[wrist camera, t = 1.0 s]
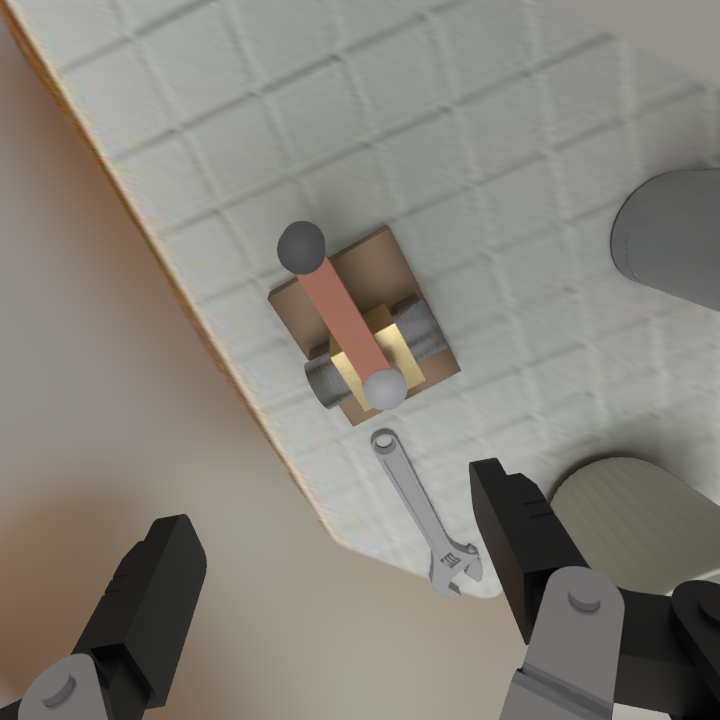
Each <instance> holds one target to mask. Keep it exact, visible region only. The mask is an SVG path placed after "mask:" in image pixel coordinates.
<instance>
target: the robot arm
mask: <svg viewBox="0 0 720 720" xmlns="http://www.w3.org/2000/svg"><path fill="white" fill-rule="evenodd" d="M611 249H612V255H613V259H614V261H615V264H616V266H617V267H618V269H619V270H620V271H621V273H622V274H623V275H625V276H626V277H627V278H629V279H630V280H633V281H636V282H638V283H641V284H644V285H647V286H649V287H652V288H655V289H658V290H660V291H663V292H666V293H668V294H671V295H674V296H677V297H679V298H682V299H685V300H688V301H691V302H694V303H696V304H699V305H702V306H705V307H708V308H711V309H713V310H716V311H719V312H720V168H708V169H706V170H704V171H675V172H669V173H666V174H662V175H659V176H657V177H655V178H654V179H652V180H650V181H648V182H647V183H645V184H644V185H643V186H641V187H640V188H639V189H638V190H637V191H636V192H635V193H634V194H633V195H632V196H631V197H630V198H629V199H628V200H627V202H626V203H625V205H624V206H623V208H622V209H621V211H620V213H619V215H618V217H617V220H616V222H615V225H614V229H613V233H612V242H611ZM469 474H470V485H471V495H472V505H473V511H474V515H475V519H476V522H477V525H478V528H479V531H480V533H481V536H482V538H483V541H484V543H485V546H486V548H487V550H488V553H489V555H490V558H491V560H492V563H493V565H494V568H495V570H496V573H497V575H498V578H499V580H500V583H501V585H502V588H503V590H504V592H505V595H506V597H507V600H508V602H509V605H510V607H511V610H512V612H513V615H514V617H515V619H516V622H517V625H518V627H519V630H520V632H521V635H522V637H523V639H524V642H525V644H526V645H529V646H528V650H527V653H526V656H525V660H524V663H523V665H522V667H521V669H519V668H518V669H517V670H516V671H515V673H514V675H513V678H512V680H511V683H510V686H509V690H508V693H507V697H506V699H505V703H504V706H503V709H502V713H501V716H500V719H499V720H612V713H613V706H614V703H618V704H623V705H629V706H633V707H638V708H643V709H648V710H653V711H658V712H663V713H668V714H669V716H670V718H671V720H720V584H718V583H714V582H710V581H705V580H690V581H685V582H683V583H680V584H679V585H678V586H676V588H675V589H674V590H673V593H672V596H665V595H657V594H649V593H641V592H635V591H629V590H626V589H622V588H620V587H617V586H615V585H614V584H613V583H612V582H611V581H610V580H609V579H608V578H606V577H605V576H603V575H602V574H600V573H598V572H596V571H594V570H592V569H591V568H590V566H589V565H588V564H587V562H586V561H585V559H584V557H583V556H582V554H581V553H580V551H579V550H578V548H577V547H576V545H575V543H574V542H573V540H572V539H571V537H570V536H569V534H568V533H567V531H566V529H565V528H564V526H563V525H562V523H561V522H560V520H559V519H558V517H557V516H556V515H555V514H554V511H553V509H552V508H551V506H550V505H549V503H547V501H546V498H545V497H544V495H543V494H542V492H541V491H540V489H539V488H538V486H537V484H535V483H534V482H532V481H531V480H530V479H528V478H527V477H526V476H524V475H523V474H521V473H517V474H511V475H507V474H506V473H505V471H504V469H503V467H502V465H501V464H500V462H499V460H498V459H497V458H490V459H485V460H479V461H474V462H470V463H469ZM206 568H207V564H206V555H205V552H204V549H203V547H202V545H201V543H200V541H199V539H198V536H197V534H196V532H195V530H194V528H193V526H192V524H191V521H190V519H189V517H188V516H187V515H185V514H181V515H175V516H170V517H165V518H159V519H156V520H155V521H154V522H153V524H152V526H151V528H150V530H149V532H148V534H147V536H146V538H145V540H144V541H139V542H138V543H137V544H136V545H135V546H134V547H133V548H132V549H131V550H130V551H129V552H128V553H127V555H126V556H125V557H124V558H123V559H122V561H121V562H120V564H119V566H118V568H117V570H116V572H115V573H114V575H113V580H111V581H110V583H109V585H108V587H107V588H106V590H105V595H104V596H102V598H101V600H100V601H99V603H98V605H97V607H96V609H95V611H94V613H93V614H92V616H91V618H90V620H89V622H88V624H87V625H86V627H85V629H84V631H83V633H82V635H81V637H80V638H79V640H78V642H77V644H76V646H75V648H74V650H73V651H72V653H71V655H70V656H67V657H65V658H63V659H61V660H59V661H58V662H56V663H54V664H53V665H52V666H50V667H49V668H48V669H46V670H45V671H44V672H43V673H42V674H41V675H40V676H39V677H38V678H37V679H36V680H35V681H34V683H33V684H32V685H31V686H30V688H29V689H28V690H27V692H26V694H25V695H24V697H23V698H22V699H20V700H18V701H16V702H14V703H12V704H10V705H8V706H6V707H3V708H1V709H0V720H142V717H143V714H144V711H145V709H150V708H156V707H163V706H165V703H166V700H167V697H168V694H169V690H170V687H171V684H172V681H173V677H174V674H175V671H176V668H177V665H178V661H179V658H180V655H181V652H182V649H183V646H184V642H185V639H186V636H187V633H188V630H189V626H190V623H191V620H192V617H193V614H194V610H195V607H196V604H197V601H198V597H199V594H200V591H201V588H202V585H203V582H204V579H205V575H206Z"/></svg>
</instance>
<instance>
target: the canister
mask: <svg viewBox="0 0 720 720" xmlns="http://www.w3.org/2000/svg"><path fill="white" fill-rule="evenodd" d="M550 506H551V508H552V509H553V511H554V514H555V515H556V516H557V517H558V519H559V520H560V522H561V523H562V525H563V526H564V528H565V529H566V531H567V533H568V534H569V536H570V537H571V539H572V540H573V542H574V543H575V545H576V547H577V548H578V550H579V551H580V553H581V554H582V556H583V557H584V559H585V561H586V562H587V564H588V565H589V566H590V568H591V569H592V570H594V571H596V572H598V573H600V574H602V575H603V576H605V577H606V578H608V579H609V580H610V581H611V582H612V583H613V584H614V585H615V586H617V587H620V588H622V589H626V590H629V591H635V592H641V593H649V594H657V595H665V596H672V593H673V590H674V589H675V588H676V586H678V585H679V584H680V583H683V582H685V581H690V580H705V581H710V582H714V583H718V584H720V506H718V505H717V504H715V503H714V502H712V501H711V500H709V499H708V498H706V497H705V496H703V495H702V494H700V493H699V492H698V491H696V490H694V489H693V488H691V487H690V486H688V485H687V484H685V483H684V482H682V481H681V480H679V479H678V478H676V477H675V476H673V475H672V474H670V473H668V472H667V471H665V470H664V469H662V468H660V467H658V466H656V465H653V464H651V463H649V462H647V461H644V460H639V459H636V458H631V457H628V458H626V457H617V458H616V457H610V458H608V459H601V460H599V461H596V462H592V463H591V464H589V465H585V466H584V467H583V468H581V469H579V470H577V471H576V472H575V473H574V474H572V475H570V476H569V477H568V479H566V480H565V481H563V484H562V485H561V486H560V487H558V490H557V492H556V493H555V494H554V496H553V500H552V501H551V503H550ZM667 714H668V713H667Z"/></svg>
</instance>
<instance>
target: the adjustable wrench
mask: <svg viewBox="0 0 720 720" xmlns="http://www.w3.org/2000/svg"><path fill="white" fill-rule="evenodd" d="M383 436H389V437H391V438H392V444H391V445H390V446H388V447H385V448H381V447H378V446H377V444H376V440H377V439H378V438H380V437H383ZM371 445H372V449H373V452H374V453H375V455H376V457H377V458H378V460H379V462H380V463H381V465H382V467H383V468H384V470H385V472H386V473H387V475H388V477H389V479H390V480H391V482H392V484H393V485H394V487H395V489H396V490H397V492H398V494H399V495H400V497H401V499H402V500H403V502H404V504H405V505H406V507H407V509H408V511H409V512H410V514H411V516H412V517H413V519H414V521H415V522H416V524H417V526H418V527H419V529H420V531H421V532H422V534H423V536H424V537H425V539H426V541H427V543H428V544H429V546H430V548H431V567H430V573H429V574H430V579H431V583H432V586H433V589H434V590H435V591H436V592H437V593H438V594H440V595H442V596H445V597H449V598H450V597H451V598H452V597H453V598H455V597H459V596H461V594H460V591H459V588H458V586H456V585H455V584H453V583H452V582H450V581H451V578H452V577H454V576H455V575H456V574H458V573H459V572H460V571H461V570H463V569H464V571H465V574H467V575H468V576H470V577H471V578H473V579H474V580H476V581H477V582H479V581H480V580H481V579H482V575H483V569H482V566H481V563H480V561H479V558H478V557H479V556H480V555H479V553H478V550H477V548H476V547H474V546H472V545H469V546H463V545H461V544H458V543H455V542H454V541H452V540H451V539H450V538H449V537H448V536H447V534H446V533H445V531H444V529H443V527H442V525H441V523H440V521H439V519H438V517H437V515H436V513H435V511H434V509H433V507H432V505H431V503H430V501H429V499H428V497H427V495H426V493H425V491H424V489H423V487H422V485H421V484H420V482H419V480H418V478H417V476H416V474H415V472H414V470H413V468H412V466H411V464H410V462H409V460H408V458H407V456H406V454H405V452H404V450H403V448H402V446H401V444H400V442H399V440H398V438H397V436H396V434H395V433H394V432H393V431H391V430H389V429H380V430H378V431H376V432H375V433H374V434H373V435H372V437H371Z"/></svg>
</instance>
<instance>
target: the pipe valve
mask: <svg viewBox="0 0 720 720" xmlns="http://www.w3.org/2000/svg"><path fill="white" fill-rule="evenodd" d="M393 305H394V307H395V309H396V311H397V312H398V313H397V314H395V315H393V316H392V315H391V313H390V311H389V309H388V307H387V306H386V304H385V302H384V303H383V304H381V305H379V306H377V307H375V308H374V309H372V310H370V311H368V312H366V313H365V314H363V315H362V317H363V318H364V320H365V322H366V324H367V325H368V327H369V329H370V330H371V332H372V334H373V336H374V337H375V339H376V341H377V342H378V344H379V346H380V348H381V349H382V351H383V353H384V355H385V356H386V358H387V360H388V361H389V362H391V363H393V364H395V365H397V366H398V367H399V368H400V370H401V371H402V373H403V376H404V378H405V381H406V383H407V388H408V389H410V388H412V387H414V386H416V385H418V384H420V383H422V382H424V381H426V379H425V377H424V375H423V373H422V371H421V369H420V367H419V365H418V363H419V362H421V361H423V360H424V359H426V358H428V357H430V356H432V355H434V354H436V353H438V352H440V351H441V350H443V349H445V348H447V344H446V342H445V339H444V337H443V335H442V333H441V331H440V329H439V327H438V325H437V324H436V322H435V320H434V318H433V316H432V314H431V313H430V311H429V309H428V308H427V306H426V304H425V303H424V302H423V300H420V298H419V297H418V296H417V294H416V293H413V294H411V295H409V296H408V297H406V298H404V299H402V300H400V301H399V302H397V303H395V304H393ZM329 339H330V340H328V341H326V342H324V343H323V344H321V345H319V346H317V347H315V348H313V349H312V350H310V351H309V362H307V363H306V364H305V366H304V368H305V373H306V376H307V379H308V381H309V384H310V386H311V388H312V390H313V391H314V393H315V395H316V396H317V398H318V399H319V401H320V402H321V403H322V404H323V406H324V407H326V408H327V409H332V408H333V407H335V406H337V405H339V404H341V403H343V402H345V401H347V400H349V399H351V398H352V397H354V396H355V397H356V399H357V400H358V402H359V403H360V405H361V406H362V408H363V409H364V411H365V412H366V411H368V410H370V409H372V408H373V407H371V406H370V405H369V404H368V403H367V402H366V400H365V397H364V393H363V387H362V381H361V379H360V377H359V376H358V374H357V373H356V371H355V369H354V368H353V366H352V365H351V363H350V361H349V360H348V358H347V357H346V355H345V353H344V352H343V350H342V349H341V347H340V345H339V344H338V342H337V341H336V339H335V337H334V336H333V334H332V333H331V332H330V333H329Z"/></svg>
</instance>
